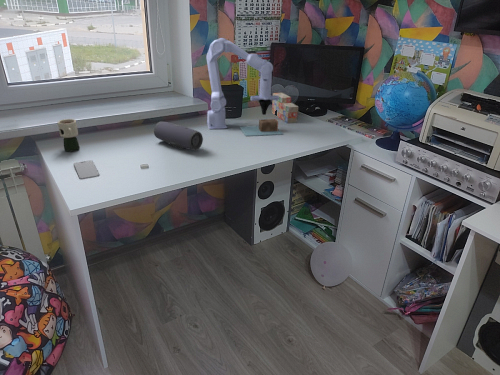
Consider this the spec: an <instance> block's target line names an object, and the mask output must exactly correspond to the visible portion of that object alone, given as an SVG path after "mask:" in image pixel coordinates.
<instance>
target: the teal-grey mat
mask: <svg viewBox="0 0 500 375" xmlns="http://www.w3.org/2000/svg"><path fill="white" fill-rule="evenodd" d="M239 129H240V130H241V131H242V133H243V134H244V136H245V137H259V136H260V137H261V136H262V137H263V136H264V137H265V136H283V135H284V133H283V132H282V131H281V130H280V128H278V131H270V132H261V131H260V130H259V125H256V126H255V125H253V126H251V125H250V126H239Z"/></svg>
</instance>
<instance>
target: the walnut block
mask: <svg viewBox="0 0 500 375" xmlns="http://www.w3.org/2000/svg"><path fill="white" fill-rule="evenodd" d="M258 126H259V130H260V131H261V132H270V131H278V129H279V121H278V120H277V119H276V118H271V119H270V118H269V119H267V118H266V119H259V120H258Z"/></svg>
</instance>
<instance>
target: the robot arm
mask: <svg viewBox="0 0 500 375" xmlns="http://www.w3.org/2000/svg"><path fill="white" fill-rule="evenodd" d="M223 53H224V54H226V53H232V54H234V55H236V56H237V57H239V58H242V59H243V60H244V61H246V64H247V65H248V66H249V67H251V68H253V69H254V70H257V71H259V72H260V78H259V93H258V94H259V95H251V96H250V102H254V101H258V102H259V105H260V108H261V114H262V116H264V115H266V114H267V111H268V108H269V106H270V105H271V103H272V100H279V96H273V94H272V84H273V83H272V81H273V79H272V77H273V75H272V74H273V73H272V72H273V70H274V65H273V64H272V63H271V62H270V61H267V60H266V59H263V58H261V57H260V56H258V53H252V52H251V53H248V52H247V51H246V50H244V49H242V48H241V47H240V46H238V45H237V44H235V43H233V42H232V41H231V40H227V39H226V38H225V37H220V38H217V39H214V40H213V41H212V42H211V43H210V44H209V48H208V50H207V53H206V63H207V70H208V77H209V83H210V88H211V89H210V90H211V95H210V96H211V97H210V99H211V100H210V101H211V102H210V108H211V109H210V110H207V112H206V114H207V115H206V116H207V119H206V120H207V123H206V124H207V127H208V129H209V130H216V129H228V127H227V125H226V108H225V106H226V105H227V99H226V97H225V94H224V92H223V91H222V89H223V88H222V85H221V78H220V77H221V76H220V71H219V64H218V58H219V57H220V56H221V55H222V54H223ZM271 94H272V95H271Z"/></svg>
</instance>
